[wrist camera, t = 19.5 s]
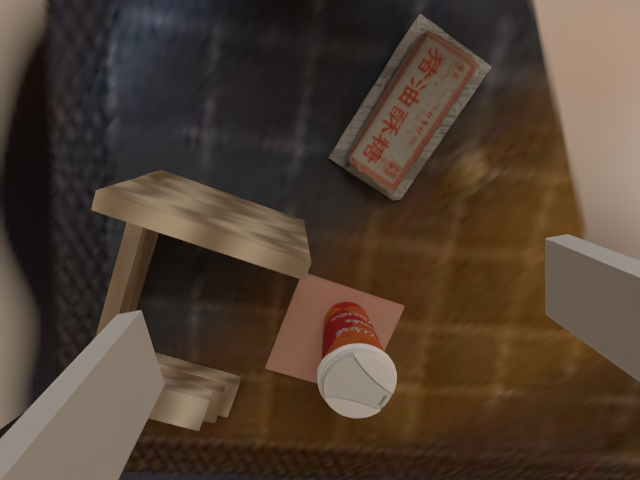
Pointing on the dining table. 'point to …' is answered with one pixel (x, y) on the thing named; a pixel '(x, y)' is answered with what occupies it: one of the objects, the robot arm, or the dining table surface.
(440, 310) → the dining table surface
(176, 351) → the dining table surface
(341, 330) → the paper cup
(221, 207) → the oak rack
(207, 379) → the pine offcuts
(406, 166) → the packaged product
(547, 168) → the dining table surface
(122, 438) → the robot arm
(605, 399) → the dining table surface
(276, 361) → the terracotta mat
